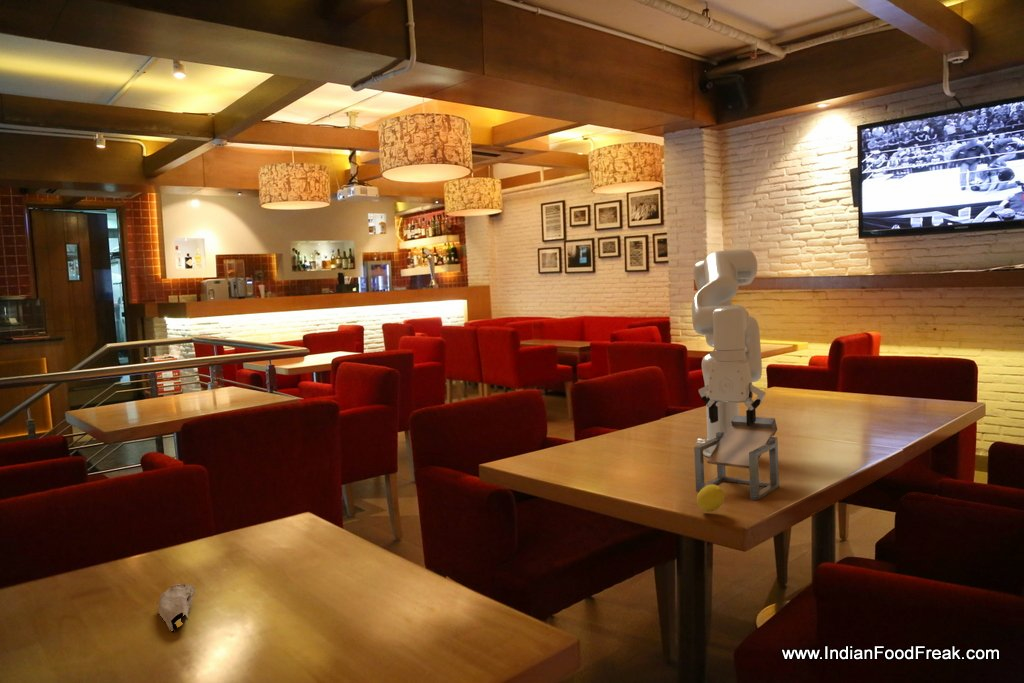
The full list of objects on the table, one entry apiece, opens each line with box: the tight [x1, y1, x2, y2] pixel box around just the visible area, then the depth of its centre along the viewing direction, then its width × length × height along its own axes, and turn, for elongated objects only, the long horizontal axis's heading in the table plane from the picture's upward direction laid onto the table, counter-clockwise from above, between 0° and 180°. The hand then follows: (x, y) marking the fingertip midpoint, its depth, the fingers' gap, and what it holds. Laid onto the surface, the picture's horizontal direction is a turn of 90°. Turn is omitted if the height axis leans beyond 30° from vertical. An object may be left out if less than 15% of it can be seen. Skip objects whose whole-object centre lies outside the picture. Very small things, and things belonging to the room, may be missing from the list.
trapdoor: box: [706, 415, 778, 469], centre depth 189 cm, size 12×19×4 cm, turn 139°
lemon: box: [696, 484, 725, 512], centre depth 167 cm, size 6×6×8 cm
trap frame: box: [694, 432, 780, 501], centre depth 186 cm, size 16×14×13 cm
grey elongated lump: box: [157, 583, 196, 631], centre depth 127 cm, size 14×6×5 cm, turn 23°
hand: (732, 423), depth 184 cm, fingers open, 9 cm apart
